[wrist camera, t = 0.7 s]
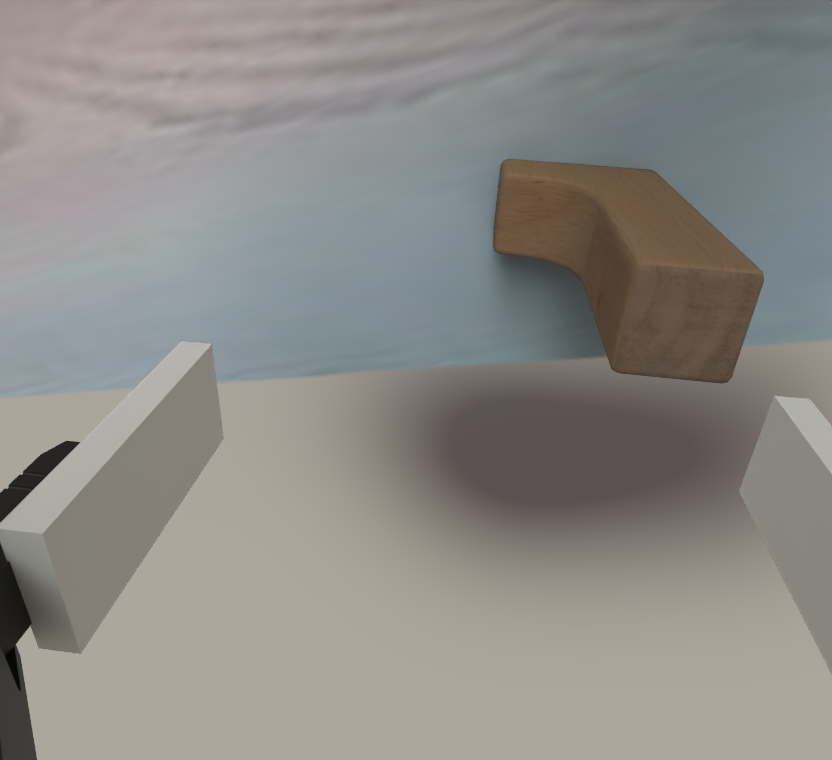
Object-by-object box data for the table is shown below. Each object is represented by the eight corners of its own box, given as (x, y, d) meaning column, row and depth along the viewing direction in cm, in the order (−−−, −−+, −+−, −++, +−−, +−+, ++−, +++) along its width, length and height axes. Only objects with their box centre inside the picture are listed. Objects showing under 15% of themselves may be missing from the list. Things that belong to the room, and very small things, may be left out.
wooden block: (492, 232, 40) (489, 364, 24) (501, 157, 38) (503, 249, 22) (639, 244, 40) (732, 388, 24) (657, 169, 37) (771, 272, 22)
